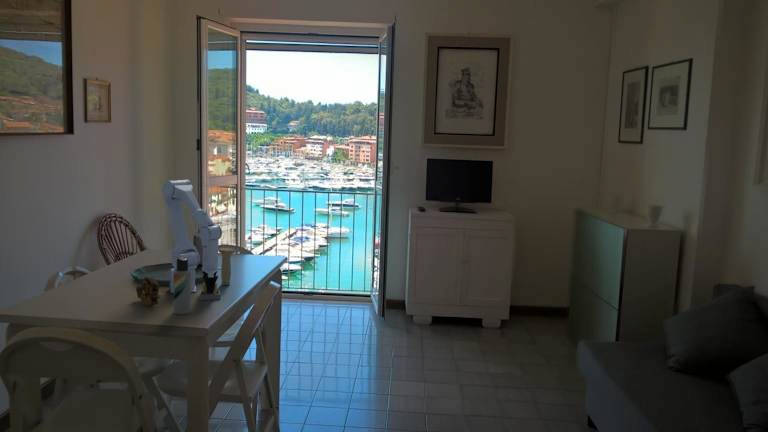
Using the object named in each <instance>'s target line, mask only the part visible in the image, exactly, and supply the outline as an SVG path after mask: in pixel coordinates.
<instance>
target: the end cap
mask: <svg viewBox="0 0 768 432" xmlns="http://www.w3.org/2000/svg"><path fill="white" fill-rule="evenodd" d="M203 300H204V301H205V300H207V301H209V300H210V301H211V300H221V291H220V290H218V289H217V294H203V290H199V301H203Z"/></svg>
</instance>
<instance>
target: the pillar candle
mask: <svg viewBox="0 0 768 432" xmlns="http://www.w3.org/2000/svg"><path fill="white" fill-rule="evenodd" d="M199 233H200V232H195V233H193V243H192V245H194V246H195V247H196V250H197V252H198V253H199V256H200V262H199V264H201V265H202V266H203V245H202V243H201V238H200V234H199ZM199 264H198V265H199ZM201 265H200V266H201Z"/></svg>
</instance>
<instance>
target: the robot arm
mask: <svg viewBox="0 0 768 432" xmlns="http://www.w3.org/2000/svg"><path fill="white" fill-rule="evenodd" d="M161 191H162V195H163V200H164V203H165V206H166V211H167V216H168V219H169V222H170V227H171V228H170V229H171V232H172V235H173V241H174V245H175V246H174V247H173V248H172V250H171V251H170V255H171V258H170V259H171V264H172V267H173V268H170V282H169V288H170V293H171V294H174V271H175V270H177V259H178V257H187V258H188V270H190V271H191V293H196V292H197V286H196V269H197V268H198V266H199V262H200V256H199V253H198V252H197V250H196V247H195V246H194V245H193V243H191V242H190V238H189V234H188V230H187V226H186V222H185V218H184V213H183V210H182V203H184V204H185V205H186V206H187V207H188V209H189V210H190V211H191V213H192V216H191V218H192V220H193V222H194V223H195V225H196V226H197V228H198V230H199V231H200V232H198V233H199V234H200V238H201V243H202V245H203V265H202V267H201V271H202V279H203V282H205V284H206V290H207V294H211V293H213V292H214V287H215V283H216V281H217V280H218V279H219V276H218V275H217V274H218V271H221V267H222V266H219V240H221V238H222V236H223V231H222V227H221V226H220V225H219V224H217V223H216V222H214V221H213V220H212V219H211V217H210V216H209V214H208V212H207V211H206V210H205V209H202V208H201V206H200V204H199V202H198V200H197V199H196V196H195V194H194V193H193V192H194V187H193V185H192V183H191V181H190V180H189V179H186V178H185V179H177V180H176V179H175V180H169V179H168V180H165V181H164V183H163V185H162V187H161Z"/></svg>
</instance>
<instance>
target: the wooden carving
mask: <svg viewBox="0 0 768 432" xmlns="http://www.w3.org/2000/svg"><path fill="white" fill-rule="evenodd" d="M141 283H142V284H141V285H137V286H136V289H135V292H136V295H137V299H140V302H141V303H142V304H143V305H145V306H156V305H158V304H159V299H161V295H160V294H159V290H160V283H158V281H157V279H156V278H155V277H149V276H146V277H145V276H144V277H143V279H142V281H141Z"/></svg>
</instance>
